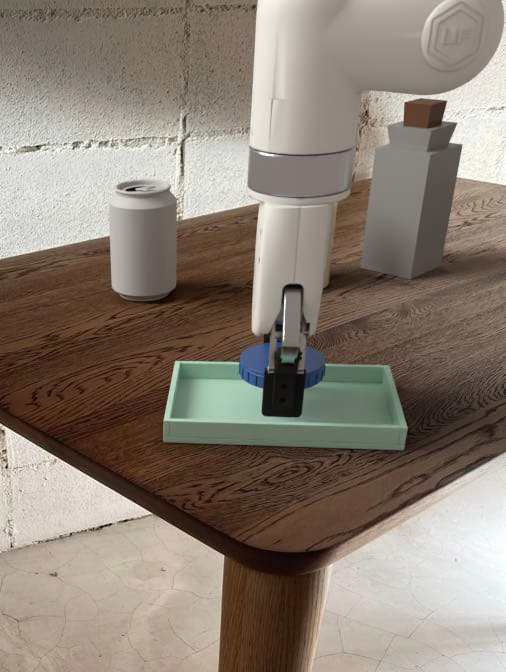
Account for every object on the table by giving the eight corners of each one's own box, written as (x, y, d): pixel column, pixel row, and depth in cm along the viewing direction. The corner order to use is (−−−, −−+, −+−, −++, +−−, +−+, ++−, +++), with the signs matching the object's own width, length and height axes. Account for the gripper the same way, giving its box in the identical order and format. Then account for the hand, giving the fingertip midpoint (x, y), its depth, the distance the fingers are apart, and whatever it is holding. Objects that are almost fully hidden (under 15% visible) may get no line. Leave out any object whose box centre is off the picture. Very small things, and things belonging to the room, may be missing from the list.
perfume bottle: (410, 279, 101) (437, 108, 91) (360, 267, 105) (381, 103, 95) (440, 265, 105) (470, 99, 94) (391, 254, 109) (414, 94, 99)
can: (149, 277, 106) (147, 172, 99) (189, 292, 100) (191, 183, 94) (99, 292, 102) (94, 184, 95) (138, 308, 97) (136, 196, 90)
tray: (386, 385, 78) (389, 364, 77) (404, 450, 69) (407, 427, 67) (175, 380, 81) (175, 360, 80) (163, 442, 71) (163, 420, 70)
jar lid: (237, 390, 70) (238, 374, 70) (239, 356, 76) (240, 340, 75) (326, 393, 69) (328, 376, 69) (321, 357, 75) (323, 342, 74)
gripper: (248, 148, 71) (237, 353, 81) (246, 202, 57) (233, 442, 67) (343, 147, 70) (319, 355, 80) (363, 202, 56) (332, 446, 66)
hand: (280, 393), depth 74 cm, fingers closed on jar lid, 6 cm apart
